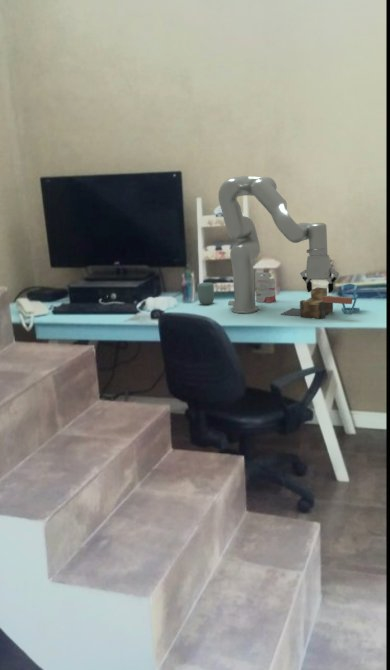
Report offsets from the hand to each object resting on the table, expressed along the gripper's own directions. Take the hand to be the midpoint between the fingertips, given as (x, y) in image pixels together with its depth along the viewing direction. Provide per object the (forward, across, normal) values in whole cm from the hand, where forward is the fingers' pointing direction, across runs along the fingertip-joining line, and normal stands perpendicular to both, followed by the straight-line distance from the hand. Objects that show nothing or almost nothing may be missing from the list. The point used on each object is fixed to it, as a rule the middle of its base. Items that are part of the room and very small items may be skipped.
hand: (320, 291), depth 277 cm
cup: (+9, -62, +3) cm, 62 cm away
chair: (+10, +10, +7) cm, 16 cm away
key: (+3, +11, -7) cm, 13 cm away
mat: (+10, -11, -1) cm, 15 cm away
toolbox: (+10, -1, -2) cm, 10 cm away
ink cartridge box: (+9, -36, +16) cm, 40 cm away
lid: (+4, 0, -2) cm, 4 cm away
